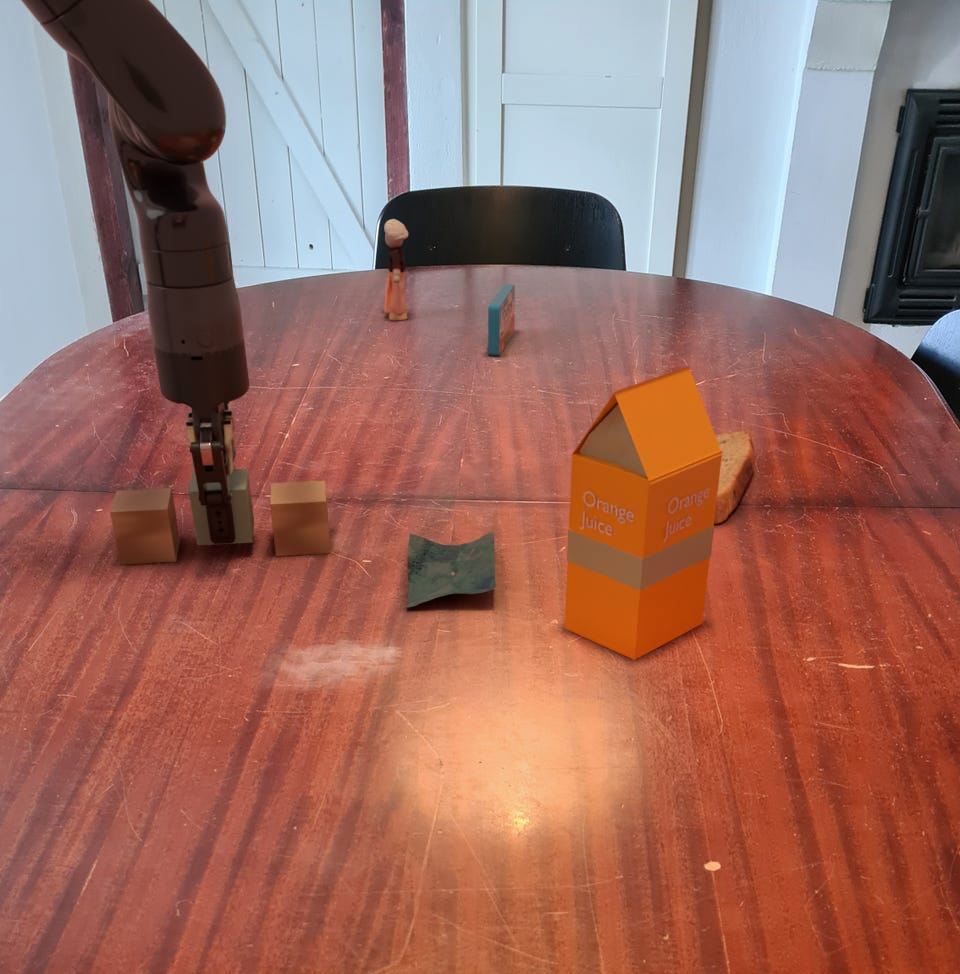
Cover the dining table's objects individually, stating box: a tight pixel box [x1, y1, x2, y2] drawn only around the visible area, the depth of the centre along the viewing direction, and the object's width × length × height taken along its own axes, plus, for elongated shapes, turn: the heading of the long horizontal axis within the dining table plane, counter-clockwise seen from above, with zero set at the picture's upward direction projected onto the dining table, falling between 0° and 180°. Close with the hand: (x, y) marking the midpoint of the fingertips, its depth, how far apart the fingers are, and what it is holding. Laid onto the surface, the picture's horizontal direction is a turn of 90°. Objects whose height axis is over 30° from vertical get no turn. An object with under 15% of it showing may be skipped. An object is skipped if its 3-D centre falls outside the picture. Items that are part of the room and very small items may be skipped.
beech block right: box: [269, 480, 332, 557], centre depth 114 cm, size 5×5×5 cm
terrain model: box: [406, 531, 497, 608], centre depth 109 cm, size 13×8×2 cm, turn 0°
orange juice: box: [564, 365, 723, 661], centre depth 96 cm, size 8×9×20 cm
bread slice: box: [714, 429, 757, 525], centre depth 126 cm, size 18×18×4 cm
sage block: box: [188, 468, 255, 546], centre depth 112 cm, size 5×5×5 cm
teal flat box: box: [487, 283, 516, 357], centre depth 164 cm, size 12×2×6 cm, turn 169°
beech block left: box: [109, 487, 181, 566], centre depth 112 cm, size 5×5×5 cm
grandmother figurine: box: [383, 218, 409, 321], centre depth 173 cm, size 8×4×13 cm, turn 10°
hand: (224, 528), depth 113 cm, fingers closed on sage block, 5 cm apart
